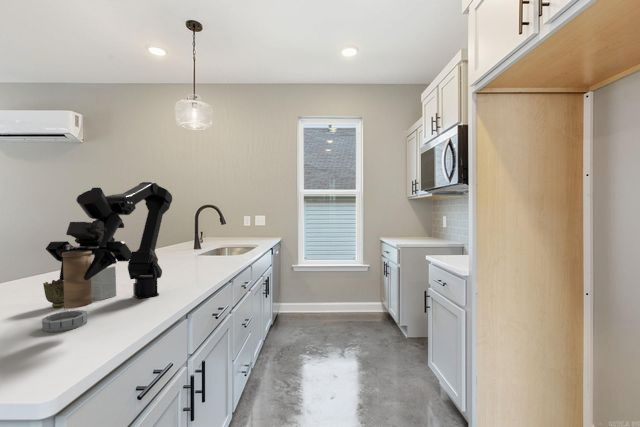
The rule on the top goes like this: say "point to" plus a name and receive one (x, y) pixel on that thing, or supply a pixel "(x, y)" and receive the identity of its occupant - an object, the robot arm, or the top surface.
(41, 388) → the top surface
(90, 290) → the brown cylinder
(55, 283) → the ornate scalloped vase
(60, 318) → the ring
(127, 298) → the top surface
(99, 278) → the small box
